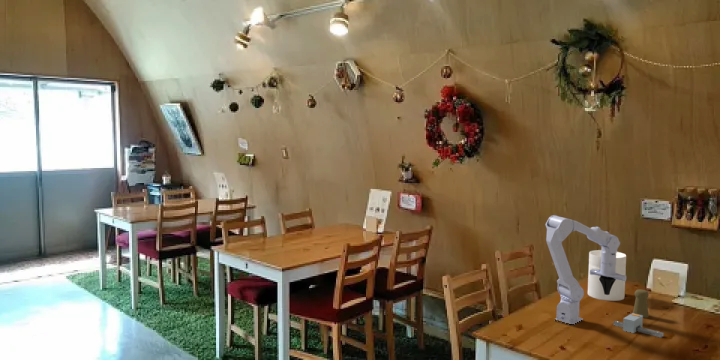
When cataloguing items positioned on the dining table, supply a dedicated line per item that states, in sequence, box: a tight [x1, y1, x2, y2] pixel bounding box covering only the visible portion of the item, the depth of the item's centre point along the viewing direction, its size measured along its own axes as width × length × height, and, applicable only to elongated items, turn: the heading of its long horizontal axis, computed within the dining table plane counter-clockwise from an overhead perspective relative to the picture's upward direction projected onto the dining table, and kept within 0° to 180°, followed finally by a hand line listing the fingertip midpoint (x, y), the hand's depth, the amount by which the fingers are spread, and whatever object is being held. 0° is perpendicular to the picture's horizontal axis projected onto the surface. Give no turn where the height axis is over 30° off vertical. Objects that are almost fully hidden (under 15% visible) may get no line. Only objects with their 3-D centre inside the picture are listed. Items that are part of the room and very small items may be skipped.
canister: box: [587, 249, 627, 302], centre depth 262 cm, size 16×16×20 cm
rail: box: [613, 320, 664, 338], centre depth 218 cm, size 2×18×2 cm, turn 43°
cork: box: [632, 288, 650, 319], centre depth 235 cm, size 6×6×11 cm
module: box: [622, 312, 644, 334], centre depth 219 cm, size 9×4×5 cm, turn 133°
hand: (607, 294), depth 234 cm, fingers closed
